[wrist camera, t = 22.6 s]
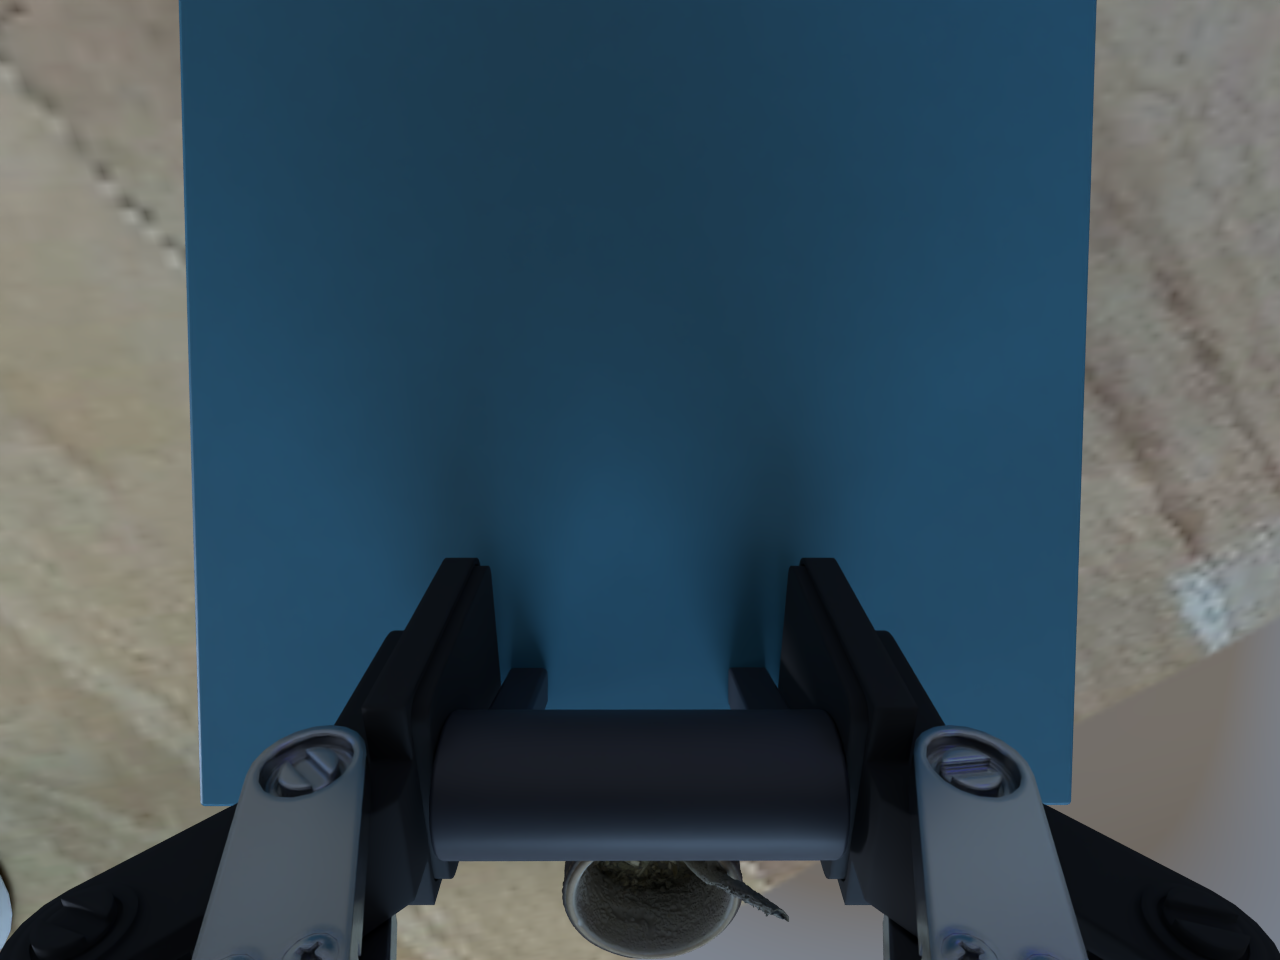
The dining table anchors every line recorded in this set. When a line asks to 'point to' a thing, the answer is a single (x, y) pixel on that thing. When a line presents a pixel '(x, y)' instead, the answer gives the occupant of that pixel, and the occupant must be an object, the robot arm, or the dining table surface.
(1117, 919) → the robot arm
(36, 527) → the dining table surface
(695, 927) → the mate gourd
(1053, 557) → the lid
